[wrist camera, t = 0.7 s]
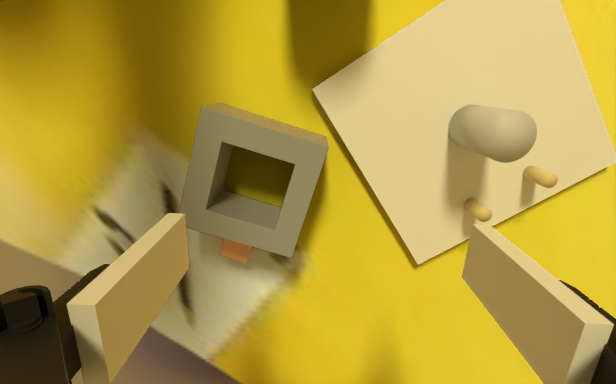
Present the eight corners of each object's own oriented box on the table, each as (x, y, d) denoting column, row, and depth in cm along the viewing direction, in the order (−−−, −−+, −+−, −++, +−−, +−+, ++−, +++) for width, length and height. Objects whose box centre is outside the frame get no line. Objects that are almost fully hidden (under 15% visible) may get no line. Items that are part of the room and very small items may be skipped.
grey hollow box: (220, 102, 33) (201, 106, 27) (326, 136, 34) (328, 147, 28) (190, 234, 38) (168, 261, 32) (284, 261, 38) (279, 292, 33)
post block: (311, 89, 33) (311, 90, 25) (529, -56, 29) (610, -108, 21) (414, 259, 38) (441, 304, 30) (608, 158, 34) (695, 180, 26)
